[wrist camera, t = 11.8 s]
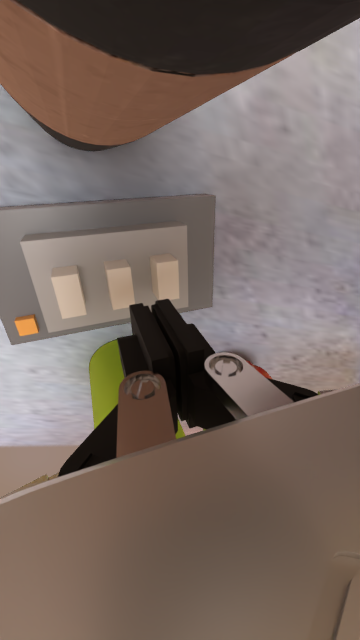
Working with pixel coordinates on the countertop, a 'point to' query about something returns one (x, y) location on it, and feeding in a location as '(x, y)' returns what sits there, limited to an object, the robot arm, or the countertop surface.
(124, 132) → the travel mug
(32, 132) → the countertop surface
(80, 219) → the breaker panel
